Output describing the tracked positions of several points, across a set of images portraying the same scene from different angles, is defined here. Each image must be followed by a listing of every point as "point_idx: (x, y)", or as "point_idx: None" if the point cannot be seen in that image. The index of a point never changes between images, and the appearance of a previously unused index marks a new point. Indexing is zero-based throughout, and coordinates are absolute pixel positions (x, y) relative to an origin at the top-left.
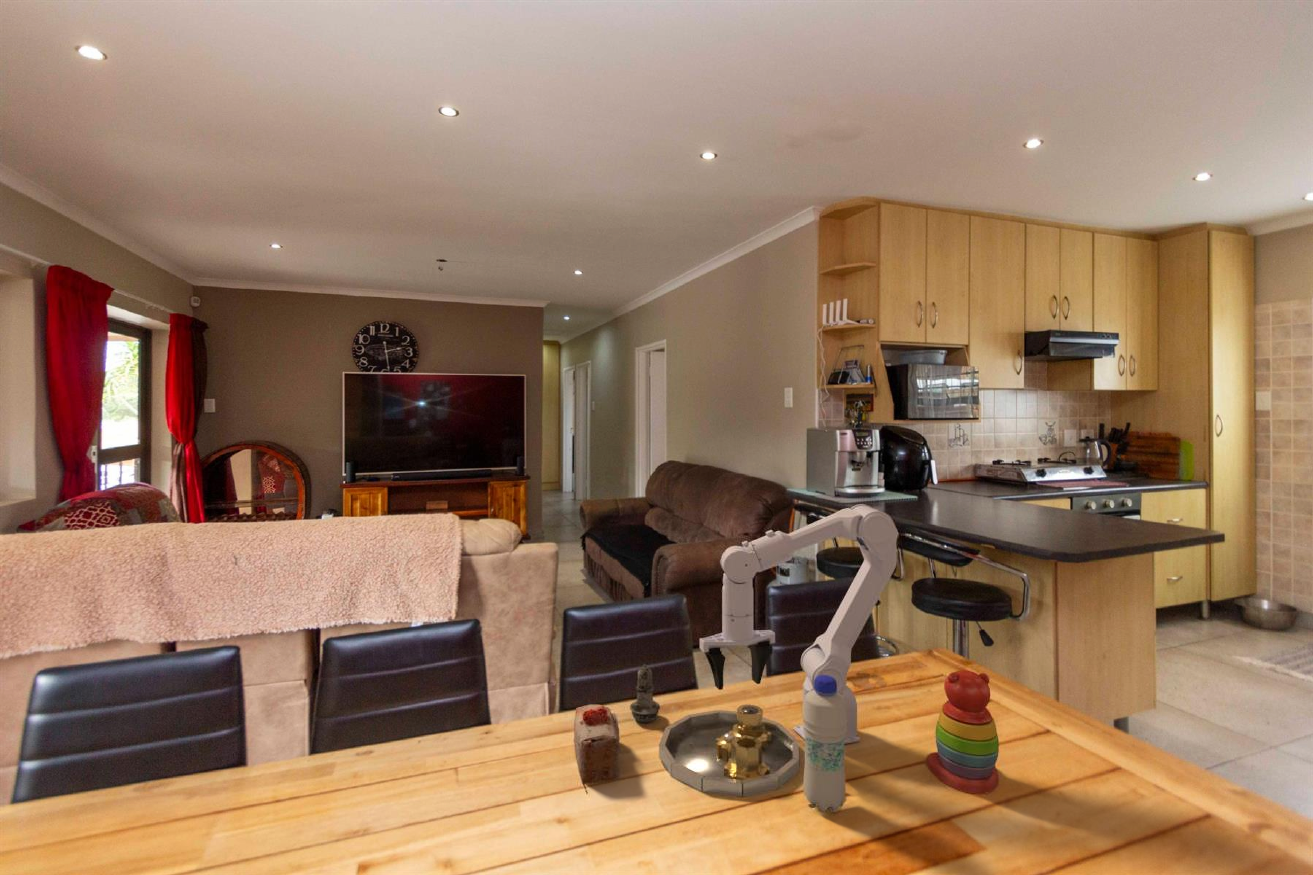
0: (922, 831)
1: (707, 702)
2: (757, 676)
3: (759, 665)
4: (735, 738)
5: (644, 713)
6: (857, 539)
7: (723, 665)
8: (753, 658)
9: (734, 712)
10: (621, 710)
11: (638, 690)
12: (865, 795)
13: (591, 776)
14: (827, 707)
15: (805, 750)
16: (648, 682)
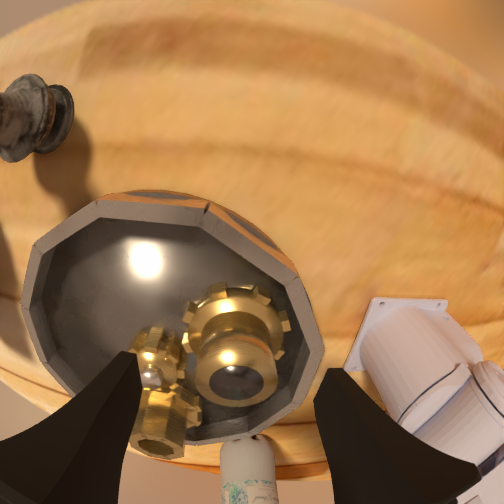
0: (300, 466)
1: (265, 50)
2: (321, 426)
3: (333, 476)
4: (139, 435)
5: (5, 159)
6: None
7: (115, 497)
8: (366, 457)
9: (250, 249)
10: (41, 41)
11: None
12: (303, 440)
13: None
14: None
15: (223, 497)
16: None
